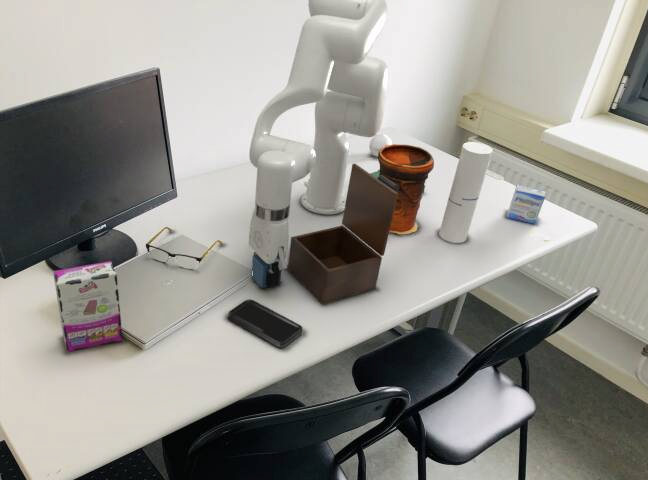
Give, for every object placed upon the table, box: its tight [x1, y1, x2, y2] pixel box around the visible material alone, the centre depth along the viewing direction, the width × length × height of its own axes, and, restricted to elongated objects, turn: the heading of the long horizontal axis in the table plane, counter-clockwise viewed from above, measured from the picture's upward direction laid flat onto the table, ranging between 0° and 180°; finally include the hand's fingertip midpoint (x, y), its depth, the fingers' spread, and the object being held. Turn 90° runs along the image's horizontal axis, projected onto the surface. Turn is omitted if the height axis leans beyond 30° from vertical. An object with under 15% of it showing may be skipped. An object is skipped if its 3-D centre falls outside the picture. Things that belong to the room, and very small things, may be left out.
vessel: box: [377, 143, 435, 236], centre depth 172 cm, size 14×14×20 cm
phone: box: [227, 299, 303, 349], centre depth 138 cm, size 8×1×15 cm
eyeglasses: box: [145, 226, 224, 263], centre depth 158 cm, size 14×14×4 cm
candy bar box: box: [52, 261, 123, 353], centre depth 126 cm, size 11×5×16 cm, turn 114°
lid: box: [341, 163, 399, 257], centre depth 148 cm, size 16×16×6 cm
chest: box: [287, 224, 383, 305], centre depth 152 cm, size 15×16×9 cm
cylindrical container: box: [438, 141, 494, 244], centre depth 167 cm, size 7×7×25 cm
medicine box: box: [506, 184, 547, 225], centre depth 183 cm, size 8×4×9 cm, turn 68°
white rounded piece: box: [368, 133, 393, 158], centre depth 211 cm, size 10×7×7 cm
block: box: [251, 254, 283, 289], centre depth 150 cm, size 5×5×6 cm
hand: (266, 277), depth 151 cm, fingers closed on block, 5 cm apart
